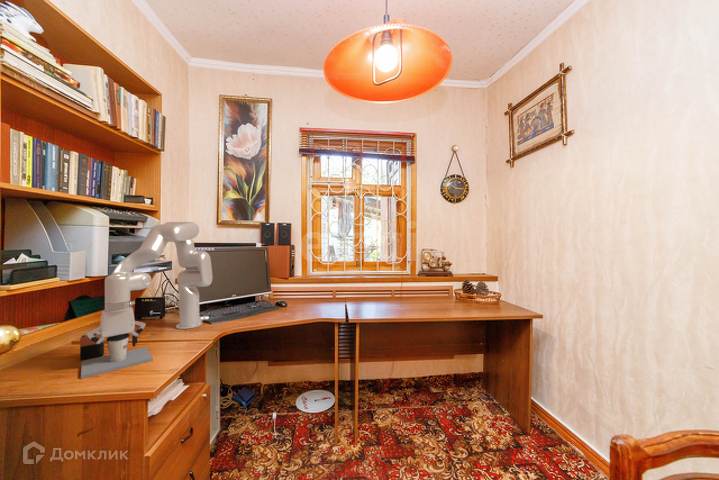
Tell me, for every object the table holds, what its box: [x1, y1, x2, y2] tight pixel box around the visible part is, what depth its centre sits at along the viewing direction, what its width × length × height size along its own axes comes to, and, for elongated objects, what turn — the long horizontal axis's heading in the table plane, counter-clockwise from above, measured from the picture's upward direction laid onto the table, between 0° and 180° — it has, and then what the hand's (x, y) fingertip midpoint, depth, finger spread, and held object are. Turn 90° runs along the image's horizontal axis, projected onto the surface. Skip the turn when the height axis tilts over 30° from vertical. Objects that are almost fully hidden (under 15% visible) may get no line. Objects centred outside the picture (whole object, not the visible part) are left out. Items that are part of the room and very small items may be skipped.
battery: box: [79, 331, 105, 361], centre depth 111 cm, size 4×7×10 cm, turn 130°
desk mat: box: [80, 346, 154, 379], centre depth 106 cm, size 20×16×1 cm
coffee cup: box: [106, 333, 130, 362], centre depth 107 cm, size 7×7×10 cm
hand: (118, 349), depth 107 cm, fingers open, 9 cm apart
